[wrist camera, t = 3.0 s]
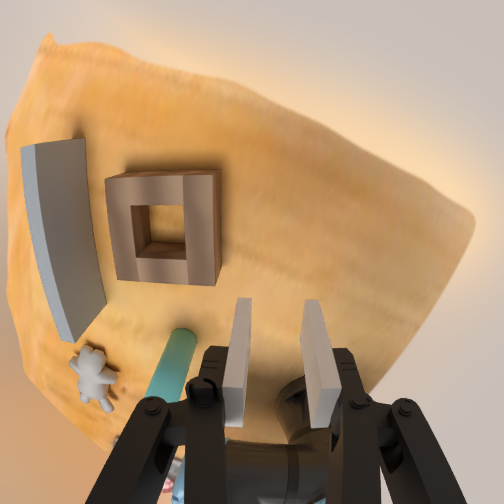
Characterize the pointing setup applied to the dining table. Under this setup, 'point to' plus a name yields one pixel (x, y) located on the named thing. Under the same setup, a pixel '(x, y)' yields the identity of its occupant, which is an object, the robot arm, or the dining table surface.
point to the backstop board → (63, 233)
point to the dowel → (173, 366)
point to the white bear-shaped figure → (93, 376)
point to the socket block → (138, 228)
